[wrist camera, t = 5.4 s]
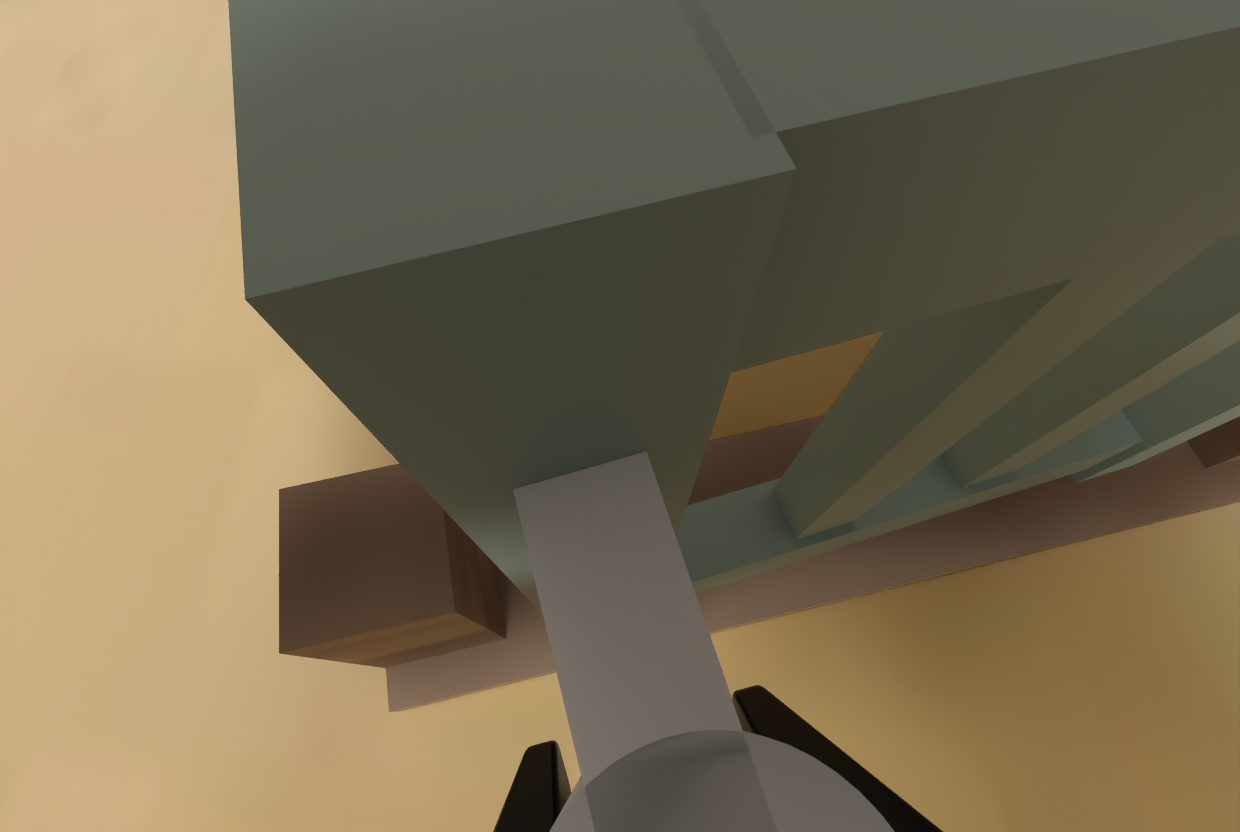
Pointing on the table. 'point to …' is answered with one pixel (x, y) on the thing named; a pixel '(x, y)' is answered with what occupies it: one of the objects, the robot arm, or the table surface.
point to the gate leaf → (736, 297)
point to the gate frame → (516, 632)
